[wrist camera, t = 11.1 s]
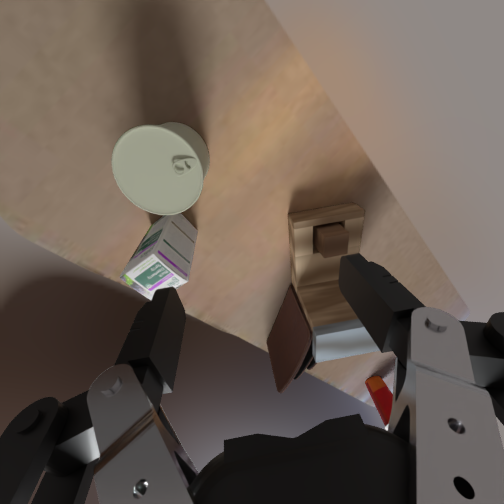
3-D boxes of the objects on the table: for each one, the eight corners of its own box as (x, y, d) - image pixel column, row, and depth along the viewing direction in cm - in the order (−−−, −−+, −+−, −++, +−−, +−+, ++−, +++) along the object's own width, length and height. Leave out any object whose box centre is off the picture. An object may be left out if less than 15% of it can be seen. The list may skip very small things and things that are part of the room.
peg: (309, 220, 41) (324, 237, 35) (331, 216, 41) (349, 232, 35) (310, 238, 43) (324, 258, 37) (330, 235, 43) (347, 253, 37)
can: (219, 176, 35) (217, 201, 25) (166, 197, 36) (143, 228, 25) (192, 111, 30) (176, 108, 20) (131, 136, 31) (86, 145, 21)
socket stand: (282, 214, 39) (317, 273, 25) (358, 201, 40) (439, 251, 25) (287, 288, 49) (315, 362, 34) (349, 276, 49) (404, 345, 34)
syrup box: (175, 206, 36) (150, 250, 24) (199, 231, 39) (188, 283, 27) (150, 225, 38) (115, 277, 25) (176, 248, 41) (155, 305, 28)
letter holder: (266, 341, 58) (277, 400, 46) (289, 283, 48) (311, 338, 36) (300, 343, 60) (319, 399, 48) (329, 288, 50) (363, 341, 38)
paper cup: (375, 387, 78) (403, 435, 66) (357, 385, 76) (382, 435, 64) (388, 374, 74) (420, 423, 62) (370, 372, 72) (399, 423, 60)
